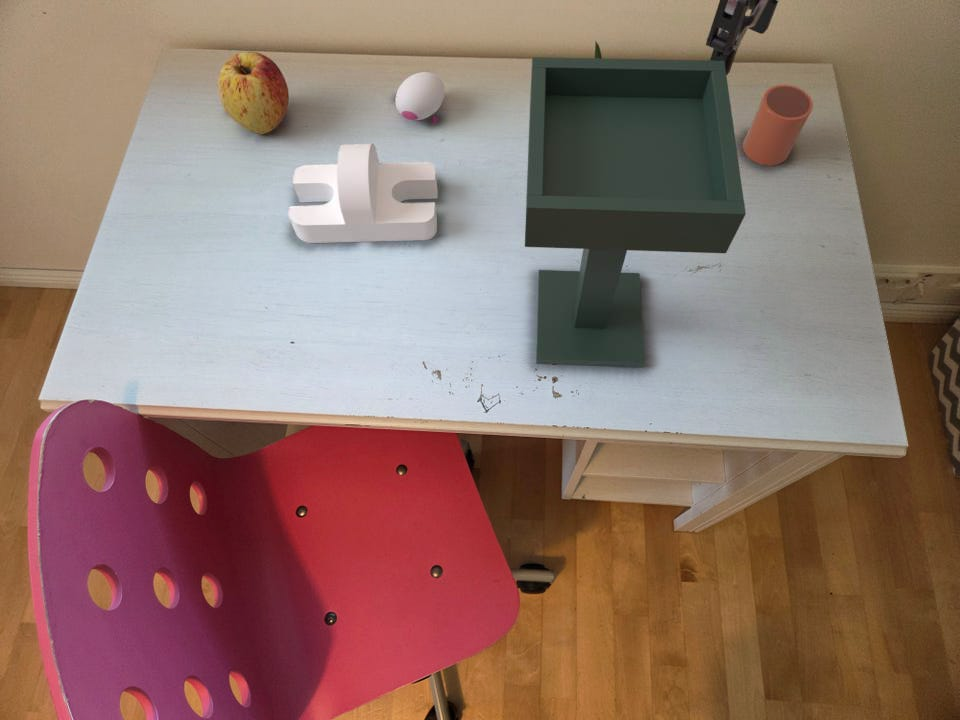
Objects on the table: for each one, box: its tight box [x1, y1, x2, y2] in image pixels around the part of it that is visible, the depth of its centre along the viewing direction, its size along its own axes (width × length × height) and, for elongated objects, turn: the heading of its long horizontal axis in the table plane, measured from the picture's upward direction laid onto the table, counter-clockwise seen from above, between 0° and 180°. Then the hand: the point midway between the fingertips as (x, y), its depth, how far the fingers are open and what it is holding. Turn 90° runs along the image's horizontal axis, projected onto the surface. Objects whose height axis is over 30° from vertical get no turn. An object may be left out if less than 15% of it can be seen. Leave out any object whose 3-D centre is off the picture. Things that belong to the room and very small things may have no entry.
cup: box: [742, 84, 814, 167], centre depth 89 cm, size 6×6×8 cm
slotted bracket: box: [287, 143, 439, 244], centre depth 85 cm, size 18×10×10 cm, turn 91°
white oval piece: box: [394, 71, 446, 124], centre depth 95 cm, size 8×8×7 cm
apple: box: [217, 51, 290, 135], centre depth 92 cm, size 9×9×10 cm
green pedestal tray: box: [524, 56, 747, 368], centre depth 68 cm, size 16×16×30 cm
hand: (737, 50), depth 75 cm, fingers open, 8 cm apart
